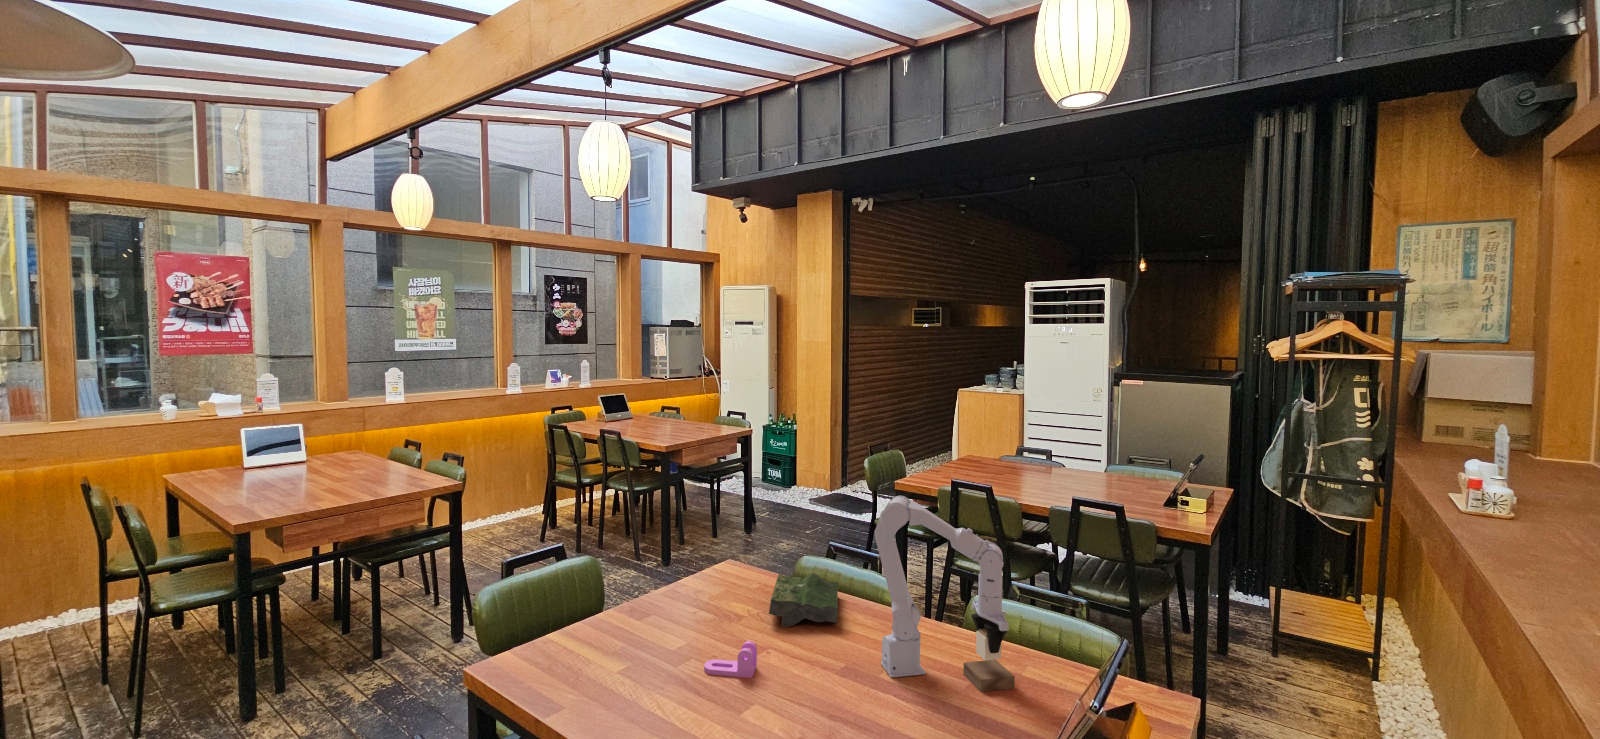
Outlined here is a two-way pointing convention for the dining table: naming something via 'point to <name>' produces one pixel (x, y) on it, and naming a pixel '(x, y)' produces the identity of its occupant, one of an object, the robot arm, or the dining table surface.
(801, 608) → the landscape model
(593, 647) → the dining table surface
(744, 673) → the bracket
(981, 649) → the cream cardboard box
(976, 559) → the robot arm
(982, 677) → the block
